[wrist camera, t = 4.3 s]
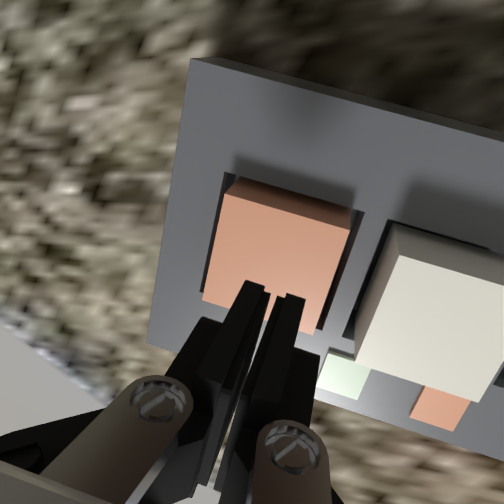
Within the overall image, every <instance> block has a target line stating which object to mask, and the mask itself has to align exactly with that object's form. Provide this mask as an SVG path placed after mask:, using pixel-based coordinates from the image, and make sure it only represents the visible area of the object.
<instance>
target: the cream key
mask: <svg viewBox="0 0 504 504" xmlns="http://www.w3.org/2000/svg"><path fill="white" fill-rule="evenodd" d="M503 361H504V255H503V254H500V253H496V252H493V251H489V250H486V249H482V248H479V247H476V246H472V245H469V244H465V243H462V242H458V241H455V240H451V239H448V238H444V237H441V236H438V235H434V234H431V233H427V232H424V231H420V230H417V229H413V228H410V227H406V226H403V225H400V224H396V223H393V224H392V226H391V229H390V231H389V234H388V236H387V239H386V241H385V244H384V246H383V249H382V251H381V254H380V256H379V259H378V261H377V264H376V266H375V269H374V271H373V274H372V276H371V279H370V282H369V284H368V287H367V289H366V292H365V294H364V297H363V299H362V302H361V304H360V307H359V309H358V312H357V314H356V317H355V343H354V363H356V364H359V365H362V366H365V367H368V368H371V369H374V370H377V371H381V372H384V373H387V374H390V375H393V376H396V377H399V378H402V379H406V380H409V381H412V382H415V383H418V384H421V385H424V386H427V387H430V388H434V389H437V390H440V391H443V392H446V393H449V394H452V395H455V396H459V397H462V398H465V399H468V400H471V401H474V402H477V403H479V401H480V399H481V398H482V396H483V394H484V393H485V391H486V389H487V388H488V386H489V384H490V383H491V381H492V379H493V378H494V376H495V374H496V373H497V371H498V369H499V368H500V366H501V364H502V363H503Z"/></svg>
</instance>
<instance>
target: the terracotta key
mask: <svg viewBox="0 0 504 504" xmlns="http://www.w3.org/2000/svg"><path fill="white" fill-rule="evenodd" d="M350 220H351V208H349V207H346V206H342V205H339V204H335V203H332V202H328V201H325V200H322V199H318V198H315V197H311V196H308V195H304V194H301V193H297V192H294V191H290V190H287V189H283V188H280V187H277V186H273V185H270V184H266V183H263V182H259V181H256V180H252V179H249V178H245V177H242V176H240V177H239V179H238V180H237V181H236V182H235V183H234V184H233V185H232V186H231V187H230V188H229V189H228V190H227V192H226V193H225V194H224V199H223V204H222V208H221V213H220V218H219V222H218V227H217V232H216V236H215V241H214V246H213V251H212V255H211V260H210V265H209V269H208V274H207V279H206V283H205V288H204V293H203V297H202V300H203V301H206V302H209V303H212V304H216V305H219V306H222V307H225V308H228V309H230V308H231V306H232V304H233V302H234V300H235V298H236V296H237V295H238V293H239V291H240V289H241V287H242V285H243V283H244V281H245V280H249V281H252V282H255V283H258V284H261V285H264V286H265V289H264V291H265V292H268V293H271V296H270V300H269V303H268V306H267V310H266V313H265V317H264V320H266V321H268V319H269V316H270V313H271V311H272V308H273V305H274V303H275V300H276V297H277V295H278V296H281V297H284V298H285V296H286V293H289V294H292V295H295V296H298V297H302V298H305V299H306V302H305V306H304V310H303V314H302V317H301V321H300V325H299V329H298V331H301V332H304V333H307V334H310V335H313V333H314V331H315V328H316V325H317V322H318V319H319V317H320V314H321V311H322V308H323V305H324V302H325V300H326V297H327V294H328V291H329V288H330V286H331V283H332V280H333V277H334V274H335V271H336V269H337V266H338V263H339V260H340V257H341V254H342V252H343V249H344V246H345V243H346V240H347V238H348V235H349V232H350Z"/></svg>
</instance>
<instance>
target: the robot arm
mask: <svg viewBox="0 0 504 504" xmlns="http://www.w3.org/2000/svg"><path fill="white" fill-rule="evenodd" d="M264 289H265V286H264V285H261V284H258V283H255V282H252V281H249V280H245V281H244V283H243V285H242V287H241V289H240V291H239V293H238V295H237V296H236V298H235V300H234V302H233V304H232V306H231V308H230V310H229V312H228V313H227V315H226V317H225V319H224V321H223V323H222V322H219V321H216V320H213V319H210V318H207V317H204V316H202V317H201V318H200V319H199V321H198V322H197V324H196V326H195V327H194V329H193V330H192V332H191V334H190V335H189V337H188V338H187V340H186V342H185V343H184V345H183V346H182V348H181V350H180V351H179V353H178V354H177V356H176V358H175V359H174V361H173V363H172V364H171V366H170V367H169V369H168V371H167V372H166V374H165V375H164V376H161V375H151V376H145V377H142V378H139V379H137V380H135V381H134V382H132V383H131V384H130V385H128V386H127V387H126V388H125V389H124V390H123V391H122V392H121V393H120V394H119V395H118V396H117V397H116V398H115V399H114V400H113V401H112V402H111V403H110V404H109V405H108V406H107V407H106V408H104V409H100V410H96V411H92V412H88V413H84V414H80V415H77V416H73V417H69V418H65V419H61V420H57V421H53V422H49V423H46V424H41V425H37V426H34V427H29V428H26V429H22V430H18V431H14V432H11V433H8V434H5V435H3V436H0V504H173V503H175V502H178V501H180V500H183V499H185V498H188V497H190V498H192V497H193V494H194V492H195V489H196V487H197V484H201V485H203V486H207V483H208V481H209V478H210V475H211V473H212V470H213V467H214V465H215V462H216V459H217V457H218V454H219V451H220V448H221V446H222V443H223V440H224V438H225V435H226V432H227V430H228V427H229V424H230V422H231V419H232V416H233V413H234V411H235V408H236V405H237V403H238V405H237V409H236V412H235V416H234V419H233V423H232V426H231V430H230V433H229V436H228V440H227V443H226V447H225V450H224V454H223V457H222V461H221V464H220V468H219V471H218V475H217V478H216V482H215V485H214V490H216V491H219V492H222V493H221V497H220V500H219V503H218V504H344V503H343V502H342V500H341V499H340V498H339V496H338V495H337V494H336V492H335V491H334V489H333V488H332V487H331V484H330V471H329V457H328V453H327V449H326V447H325V445H324V443H323V441H322V440H321V438H320V437H319V436H318V435H317V434H316V433H315V432H314V431H313V430H311V429H310V428H309V427H310V420H311V414H312V408H313V402H314V395H315V389H316V383H317V377H318V370H319V364H320V355H317V354H314V353H311V352H308V351H306V350H303V349H300V348H297V347H294V345H295V341H296V337H297V333H298V329H299V325H300V321H301V317H302V314H303V310H304V306H305V302H306V299H305V298H302V297H298V296H295V295H292V294H289V293H286V296H285V298H284V297H281V296H278V295H277V297H276V300H275V303H274V305H273V308H272V311H271V313H270V316H269V319H268V321H267V324H266V327H265V329H264V332H263V335H262V338H261V340H260V343H259V346H258V348H257V351H256V354H255V356H254V359H253V362H252V358H253V355H254V351H255V348H256V344H257V341H258V338H259V334H260V331H261V327H262V324H263V320H264V317H265V313H266V310H267V306H268V303H269V300H270V296H271V293H268V292H265V291H264ZM251 362H252V364H251ZM250 365H251V367H250ZM249 369H250V370H249ZM239 397H240V398H239ZM238 400H239V402H238Z"/></svg>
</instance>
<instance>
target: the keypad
mask: <svg viewBox="0 0 504 504" xmlns="http://www.w3.org/2000/svg"><path fill="white" fill-rule="evenodd" d="M240 176H242V177H245V178H249V179H252V180H256V181H259V182H263V183H266V184H270V185H273V186H277V187H280V188H283V189H287V190H290V191H294V192H297V193H301V194H304V195H308V196H311V197H315V198H318V199H322V200H325V201H328V202H332V203H335V204H339V205H342V206H346V207H349V208H351V220H350V232H349V235H348V238H347V240H346V243H345V246H344V249H343V252H342V254H341V257H340V260H339V263H338V266H337V269H336V271H335V274H334V277H333V280H332V283H331V286H330V288H329V291H328V294H327V297H326V300H325V302H324V305H323V308H322V311H321V314H320V317H319V319H318V322H317V325H316V328H315V331H314V333H313V335H310V334H307V333H304V332H301V331H298V333H297V337H296V341H295V345H294V347H297V348H300V349H303V350H306V351H308V352H311V353H314V354H317V355H320V364H319V370H318V377H317V383H316V389H315V395H314V399H317V400H320V401H323V402H326V403H329V404H332V405H335V406H338V407H341V408H344V409H347V410H350V411H353V412H356V413H359V414H362V415H365V416H368V417H371V418H374V419H377V420H380V421H383V422H387V423H390V424H393V425H396V426H399V427H402V428H405V429H408V430H411V431H414V432H417V433H420V434H423V435H426V436H429V437H432V438H435V439H438V440H441V441H444V442H447V443H450V444H453V445H456V446H459V447H462V448H465V449H468V450H471V451H474V452H477V453H480V454H483V455H486V456H489V457H492V458H495V459H498V460H501V461H504V370H503V367H504V361H503V363H502V364H501V366H500V368H499V369H498V371H497V373H496V374H495V376H494V378H493V379H492V381H491V383H490V384H489V386H488V388H487V389H486V391H485V393H484V394H483V396H482V398H481V399H480V401H479V403H477V402H474V401H471V400H468V399H465V398H462V397H459V396H455V395H452V394H449V393H446V392H443V391H440V390H437V389H434V388H430V387H427V386H424V385H421V384H418V383H415V382H412V381H409V380H406V379H402V378H399V377H396V376H393V375H390V374H387V373H384V372H381V371H377V370H374V369H371V368H368V367H365V366H362V365H359V364H356V363H354V343H355V317H356V314H357V312H358V309H359V307H360V304H361V302H362V299H363V297H364V294H365V292H366V289H367V287H368V284H369V282H370V279H371V276H372V274H373V271H374V269H375V266H376V264H377V261H378V259H379V256H380V254H381V251H382V249H383V246H384V244H385V241H386V239H387V236H388V234H389V231H390V229H391V226H392V224H393V223H396V224H400V225H403V226H406V227H410V228H413V229H417V230H420V231H424V232H427V233H431V234H434V235H438V236H441V237H444V238H448V239H451V240H455V241H458V242H462V243H465V244H469V245H472V246H476V247H479V248H482V249H486V250H489V251H493V252H496V253H500V254H503V255H504V132H500V131H496V130H492V129H488V128H485V127H481V126H477V125H473V124H470V123H466V122H462V121H458V120H455V119H451V118H447V117H443V116H440V115H436V114H432V113H428V112H424V111H421V110H417V109H413V108H409V107H406V106H402V105H398V104H394V103H391V102H387V101H383V100H379V99H376V98H372V97H368V96H364V95H360V94H357V93H353V92H349V91H345V90H342V89H338V88H334V87H330V86H327V85H323V84H319V83H315V82H312V81H308V80H304V79H300V78H296V77H293V76H289V75H285V74H281V73H278V72H274V71H270V70H266V69H263V68H259V67H255V66H251V65H247V64H244V63H240V62H236V61H232V60H229V59H225V58H221V57H208V58H190V64H189V71H188V77H187V83H186V90H185V96H184V103H183V109H182V115H181V122H180V128H179V134H178V141H177V147H176V154H175V160H174V166H173V173H172V179H171V185H170V192H169V198H168V205H167V211H166V217H165V224H164V230H163V237H162V243H161V249H160V256H159V262H158V268H157V275H156V281H155V288H154V294H153V300H152V307H151V313H150V320H149V326H148V332H147V339H146V343H148V344H151V345H154V346H157V347H160V348H163V349H166V350H169V351H172V352H175V353H179V351H180V350H181V348H182V346H183V345H184V343H185V342H186V340H187V338H188V337H189V335H190V334H191V332H192V330H193V329H194V327H195V326H196V324H197V322H198V321H199V319H200V318H201V317H202V316H204V317H207V318H210V319H213V320H216V321H219V322H222V323H223V321H224V319H225V317H226V315H227V313H228V312H229V310H230V309H228V308H225V307H222V306H219V305H216V304H212V303H209V302H206V301H203V300H202V297H203V293H204V288H205V283H206V279H207V274H208V269H209V265H210V260H211V255H212V251H213V246H214V241H215V236H216V232H217V227H218V222H219V218H220V213H221V208H222V204H223V199H224V194H225V193H226V192H227V190H228V189H229V188H230V187H231V186H232V185H233V184H234V183H235V182H236V181H237V180H238V179H239V177H240ZM266 324H267V321H266V320H263V324H262V327H261V331H260V334H259V338H258V341H257V344H256V348H255V351H254V355H253V358H252V362H253V359H254V356H255V354H256V351H257V348H258V346H259V343H260V340H261V338H262V335H263V332H264V329H265V327H266ZM252 362H251V364H252ZM250 367H251V365H250ZM249 370H250V369H249Z"/></svg>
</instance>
